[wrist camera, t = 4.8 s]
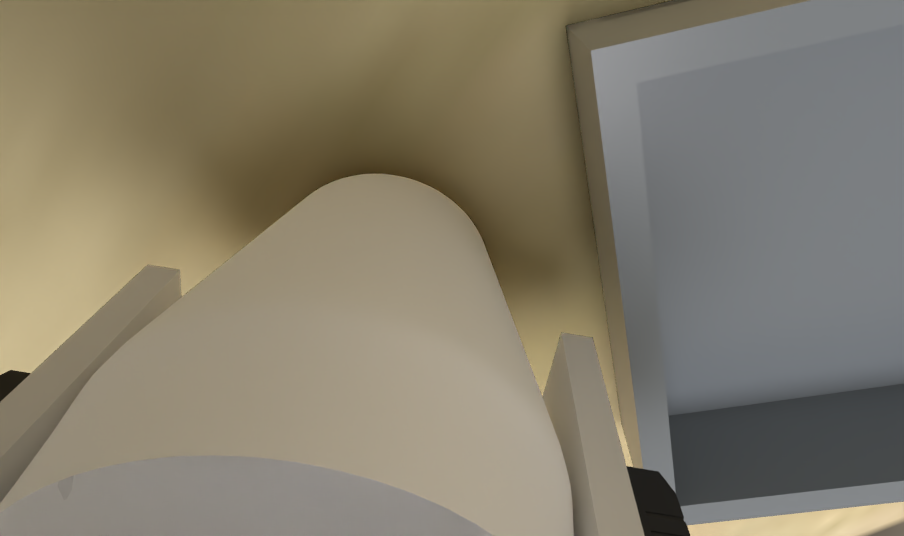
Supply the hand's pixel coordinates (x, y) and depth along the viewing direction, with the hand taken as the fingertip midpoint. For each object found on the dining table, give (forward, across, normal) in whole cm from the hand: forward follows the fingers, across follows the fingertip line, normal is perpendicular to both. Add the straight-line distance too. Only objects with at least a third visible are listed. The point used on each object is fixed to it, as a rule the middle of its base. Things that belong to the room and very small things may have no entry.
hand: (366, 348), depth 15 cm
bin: (+5, +12, +4) cm, 14 cm away
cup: (+5, 0, 0) cm, 5 cm away
